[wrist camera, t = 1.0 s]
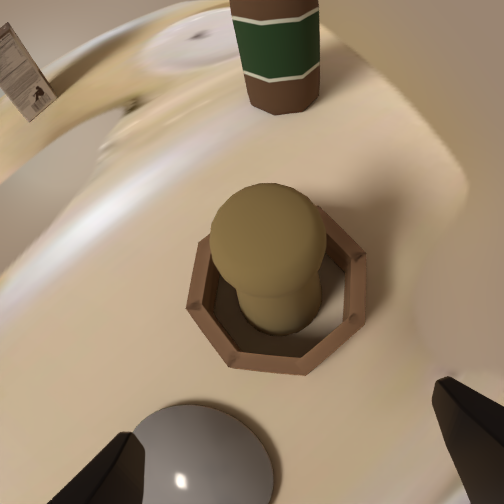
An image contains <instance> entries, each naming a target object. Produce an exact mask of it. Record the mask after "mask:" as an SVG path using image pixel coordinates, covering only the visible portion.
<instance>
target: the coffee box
mask: <svg viewBox="0 0 504 504" xmlns="http://www.w3.org/2000/svg"><path fill="white" fill-rule="evenodd" d="M0 88H1V89H2V90H3V91H4V93H5V94H6V95H7V97H8V98H9V99H10V100H11V101H12V103H13V104H14V105H15V107H16V108H17V109H18V110H19V111H20V112H21V114H22V115H23V116H24V117H25V118H26V120H27V121H28V122H30V121H31V120H33V119H34V118H35V117H36V116H37V115H38V114H39V113H40V112H42V111H43V110H44V109H45V108H46V107H47V106H49V105H50V104H51V103H52V102H53V101H55V100H56V99H57V95H56V94H55V92H54V90H53V89H52V87H51V86H50V84H49V82H48V81H47V79H46V78H45V77H44V75H43V73H42V72H41V71H40V69H39V68H38V66H37V65H36V63H35V62H34V60H33V59H32V57H31V56H30V54H29V53H28V51H27V50H26V48H25V47H24V45H23V44H22V43H21V41H20V39H19V38H18V36H17V35H16V33H15V32H14V30H13V29H12V27H11V26H10V24H9V23H8V22H7V23H6V24H5V25H4V26H2V27H1V28H0Z"/></svg>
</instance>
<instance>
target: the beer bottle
mask: <svg viewBox="0 0 504 504" xmlns="http://www.w3.org/2000/svg"><path fill="white" fill-rule="evenodd" d="M230 8H231V15H232V20H233V25H234V29H235V34H236V39H237V43H238V48H239V53H240V57H241V62H242V67H243V72H244V77H245V82H246V87H247V92H248V95H249V99H250V102H251V104H252V105H253V106H254V107H257V108H259V109H261V110H264V111H266V112H268V113H270V114H273V115H281V114H289V113H297V112H302V111H304V110H305V109H306V108H307V107H308V106H309V105H310V104H311V103H312V102H313V101H314V100H315V99H316V98H317V97H318V96H319V85H320V31H319V4H318V0H230Z"/></svg>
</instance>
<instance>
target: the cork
mask: <svg viewBox="0 0 504 504" xmlns="http://www.w3.org/2000/svg"><path fill="white" fill-rule="evenodd" d="M209 242H210V249H211V254H212V259H213V262H214V264H215V266H216V267H217V269H218V271H219V272H220V274H221V275H222V277H223V278H224V279H225V281H227V282H228V283H229V284H230V285H232V286H233V287H234V288H235V289H236V291H237V297H238V301H239V305H240V309H241V312H242V314H243V316H244V317H245V319H246V320H247V322H248V323H249V324H250V325H252V326H253V327H254V328H255V329H257V330H258V331H260V332H263V333H266V334H268V335H272V336H286V335H290V334H293V333H297V332H299V331H300V330H302V329H303V328H305V327H306V326H308V325H309V324H310V323H311V322H312V320H313V319H314V318H315V316H316V315H317V314H318V311H319V308H320V305H321V302H322V287H321V283H320V279H319V274H318V270H319V269H320V266H321V263H322V260H323V257H324V254H325V251H326V228H325V226H324V223H323V221H322V218H321V215H320V213H319V211H318V209H317V208H316V206H315V205H314V204H313V203H312V202H311V201H310V199H309V198H308V197H307V196H305V195H303V194H302V193H300V192H299V191H297V190H295V189H294V188H291V187H288V186H284V185H280V184H277V183H260V184H256V185H252V186H249V187H245V188H244V189H242V190H240V191H238V192H237V193H235V194H233V195H232V196H231V197H230V198H229V199H228V200H227V201H226V202H225V203H224V204H223V205H222V206H221V207H220V209H219V210H218V212H217V214H216V216H215V218H214V220H213V222H212V224H211V232H210V239H209Z"/></svg>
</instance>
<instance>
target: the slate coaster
mask: <svg viewBox="0 0 504 504" xmlns="http://www.w3.org/2000/svg"><path fill="white" fill-rule="evenodd" d="M133 433H134V434H135V435H136V437H137V438H138V439H139V441H140V442H141V444H142V445H143V446H144V449H145V474H144V495H143V502H142V504H269V501H270V499H271V495H272V491H273V483H274V476H273V468H272V464H271V460H270V458H269V455H268V453H267V451H266V449H265V447H264V446H263V444H262V443H261V441H260V440H259V439H258V437H257V436H256V435H255V434H254V433H253V432H252V431H251V430H250V429H249V428H248V427H247V426H246V425H245V424H243V423H242V422H241V421H239V420H238V419H236V418H235V417H233V416H231V415H229V414H227V413H225V412H223V411H220V410H217V409H215V408H211V407H207V406H200V405H179V406H172V407H168V408H164V409H161V410H159V411H156V412H154V413H153V414H151V415H149V416H148V417H146V418H145V419H144V420H143V421H141V422H140V424H139V425H138V426H137V427H136V428H135V429H134V431H133Z"/></svg>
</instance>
